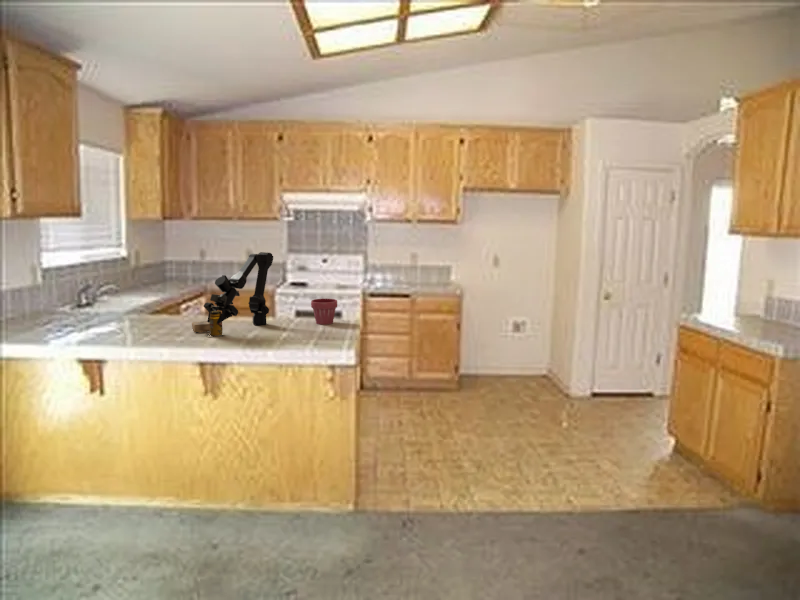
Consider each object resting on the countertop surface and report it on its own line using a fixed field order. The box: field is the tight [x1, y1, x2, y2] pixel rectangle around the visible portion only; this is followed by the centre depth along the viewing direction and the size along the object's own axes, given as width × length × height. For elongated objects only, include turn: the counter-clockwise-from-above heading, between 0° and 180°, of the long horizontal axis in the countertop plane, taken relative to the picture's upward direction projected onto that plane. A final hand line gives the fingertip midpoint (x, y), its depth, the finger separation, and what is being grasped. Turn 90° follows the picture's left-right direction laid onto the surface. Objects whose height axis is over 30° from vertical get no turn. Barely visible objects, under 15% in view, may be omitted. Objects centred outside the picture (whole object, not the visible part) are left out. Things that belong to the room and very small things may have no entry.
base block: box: [191, 320, 210, 333], centre depth 334 cm, size 9×9×4 cm
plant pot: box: [310, 298, 338, 326], centre depth 357 cm, size 14×14×13 cm
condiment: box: [203, 310, 223, 338], centre depth 323 cm, size 7×8×12 cm
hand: (212, 322), depth 321 cm, fingers closed on condiment, 6 cm apart
